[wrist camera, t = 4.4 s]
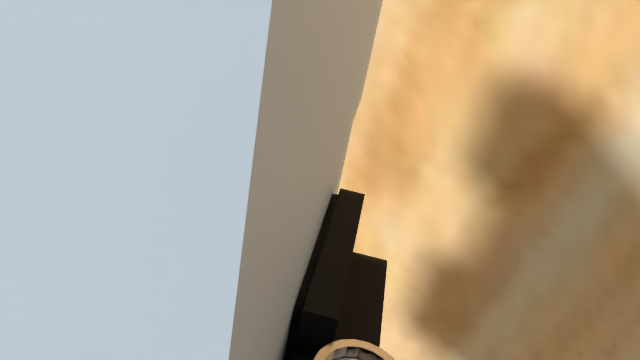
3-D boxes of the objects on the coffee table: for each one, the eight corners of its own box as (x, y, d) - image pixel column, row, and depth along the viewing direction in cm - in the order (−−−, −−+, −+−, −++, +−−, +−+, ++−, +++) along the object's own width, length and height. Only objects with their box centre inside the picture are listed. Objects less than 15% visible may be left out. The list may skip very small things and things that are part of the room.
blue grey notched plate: (227, 323, 18) (-5, 788, 8) (277, -123, 11) (-577, -544, 2) (306, 344, 17) (169, 850, 8) (404, -100, 11) (323, -414, 1)
